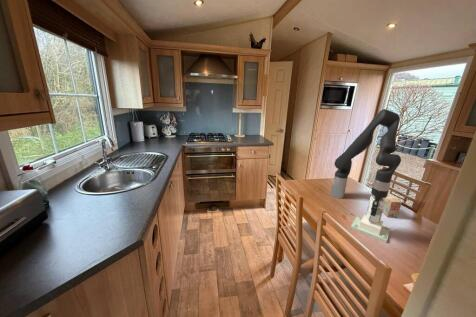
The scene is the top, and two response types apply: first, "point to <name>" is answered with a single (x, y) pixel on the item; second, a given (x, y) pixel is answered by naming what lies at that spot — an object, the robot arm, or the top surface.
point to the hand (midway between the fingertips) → (374, 212)
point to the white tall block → (378, 212)
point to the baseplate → (380, 237)
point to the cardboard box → (391, 206)
